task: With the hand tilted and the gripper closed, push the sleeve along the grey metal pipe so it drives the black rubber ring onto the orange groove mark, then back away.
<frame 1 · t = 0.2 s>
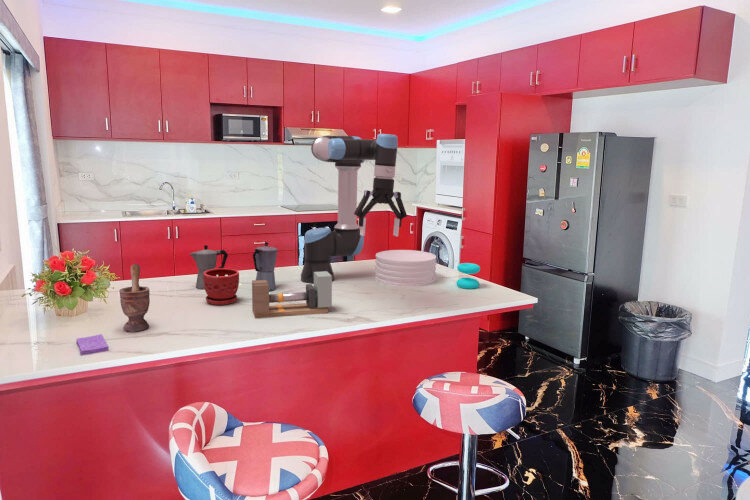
hand: (379, 235, 192), 28 cm above the countertop, tool pointing down, fingers open, 13 cm apart
sponges: (92, 348, 152), on the countertop
moka pot: (265, 289, 219), on the countertop
plate stack: (405, 279, 243), on the countertop
mortar and pestle: (135, 327, 169), on the countertop
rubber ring: (310, 295, 190), point 5 cm above the countertop, slide at 0.0 cm
plant pot: (222, 302, 199), on the countertop
donuts: (467, 287, 231), on the countertop
coffeepot: (210, 287, 222), on the countertop
pipe rig: (290, 311, 189), on the countertop
sleeve: (322, 289, 191), point 8 cm above the countertop, slide at 0.0 cm
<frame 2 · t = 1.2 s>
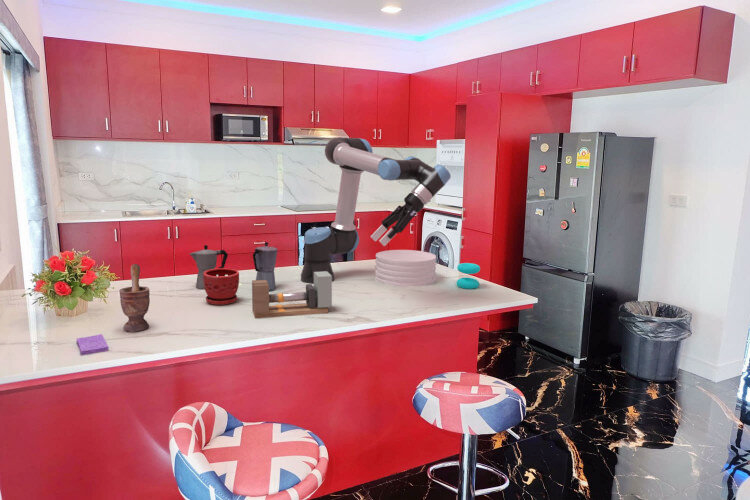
hand: (377, 241, 195), 25 cm above the countertop, tool tilted 45°, fingers open, 10 cm apart
nothing on the countertop moved.
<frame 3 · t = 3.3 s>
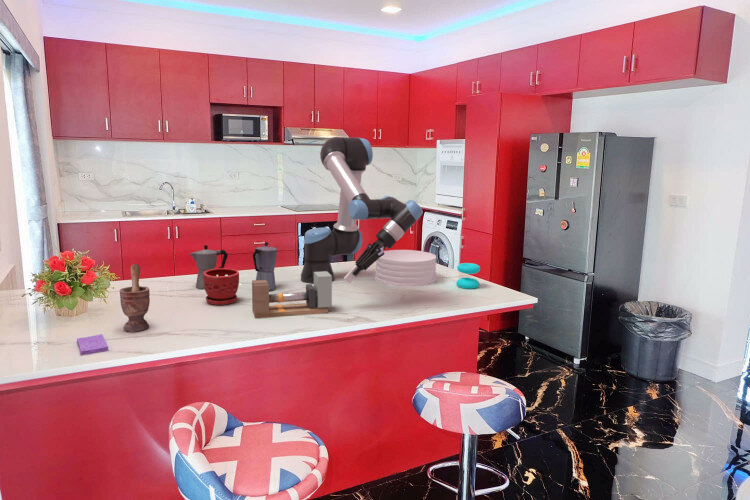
hand: (346, 280, 193), 11 cm above the countertop, tool tilted 45°, fingers closed
nothing on the countertop moved.
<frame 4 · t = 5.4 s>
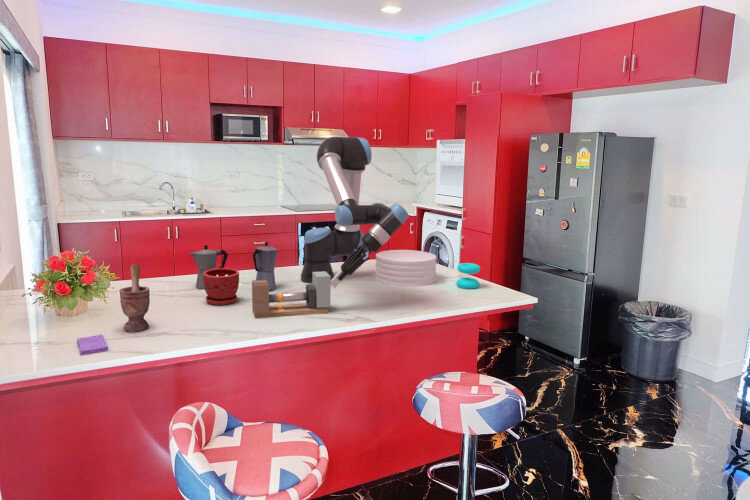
hand: (331, 285, 191), 9 cm above the countertop, tool tilted 45°, fingers closed
sleeve: (321, 289, 191), point 8 cm above the countertop, slide at 0.5 cm, touching gripper
everything else where it was.
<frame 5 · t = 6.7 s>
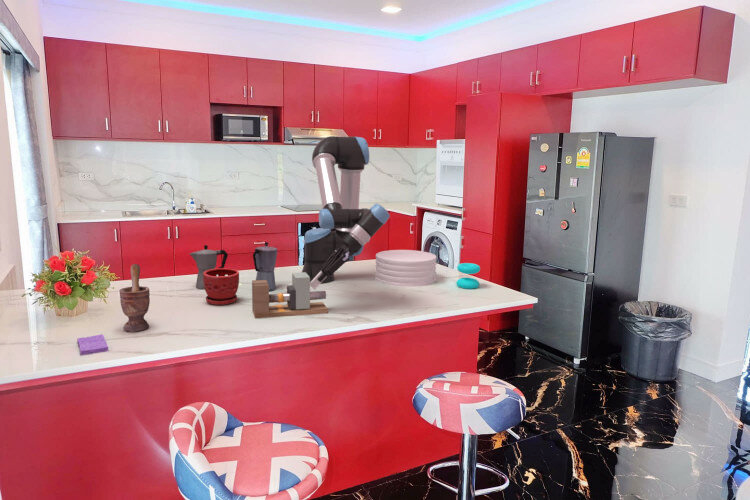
hand: (311, 286, 189), 9 cm above the countertop, tool tilted 45°, fingers closed
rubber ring: (291, 297, 188), point 6 cm above the countertop, slide at 7.0 cm, touching sleeve
sleeve: (300, 290, 189), point 8 cm above the countertop, slide at 8.0 cm, touching gripper, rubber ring
everything else where it was.
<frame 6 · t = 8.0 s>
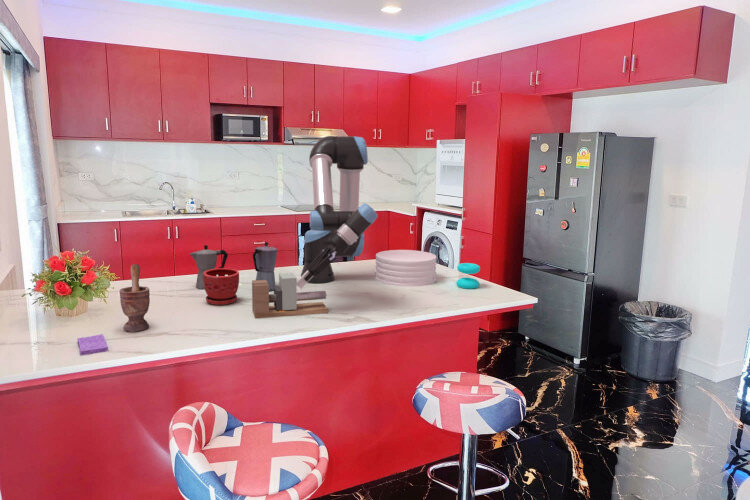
hand: (298, 286, 188), 10 cm above the countertop, tool tilted 45°, fingers closed
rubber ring: (278, 298, 187), point 5 cm above the countertop, slide at 11.8 cm, touching sleeve
sleeve: (287, 291, 187), point 8 cm above the countertop, slide at 12.8 cm, touching gripper, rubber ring
everything else where it was.
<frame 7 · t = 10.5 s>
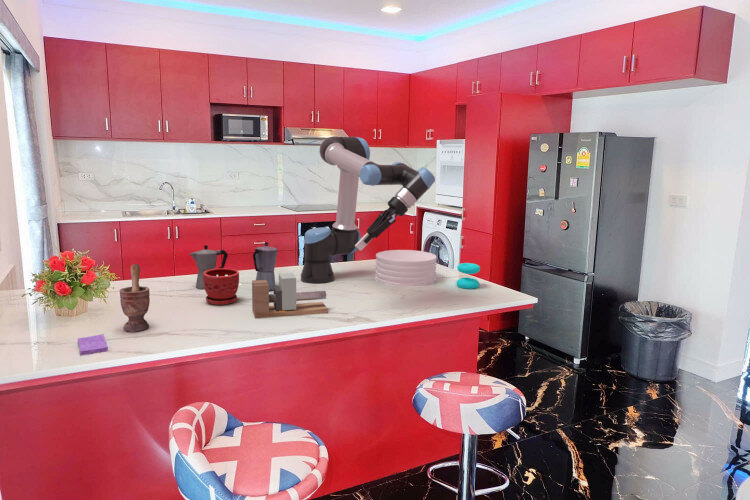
hand: (357, 248, 192), 23 cm above the countertop, tool tilted 45°, fingers closed
sleeve: (287, 291, 187), point 8 cm above the countertop, slide at 12.9 cm, touching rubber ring
everything else where it was.
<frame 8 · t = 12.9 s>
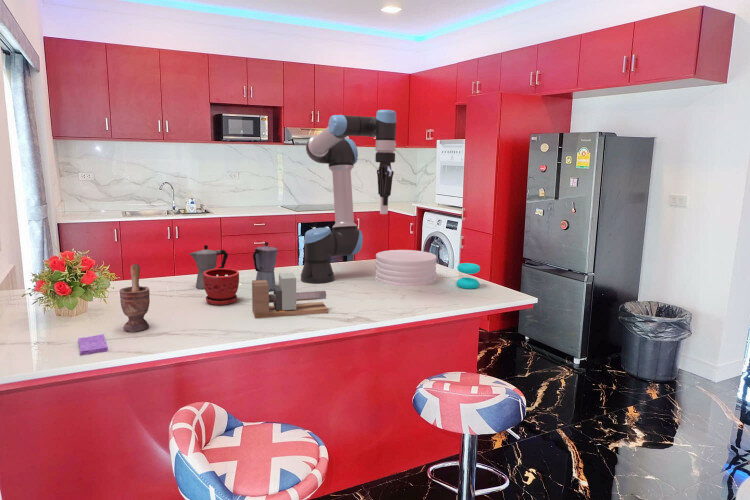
hand: (383, 213, 202), 34 cm above the countertop, tool pointing down, fingers closed
nothing on the countertop moved.
at the end: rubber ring slide at 11.9 cm; sleeve slide at 12.9 cm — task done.
